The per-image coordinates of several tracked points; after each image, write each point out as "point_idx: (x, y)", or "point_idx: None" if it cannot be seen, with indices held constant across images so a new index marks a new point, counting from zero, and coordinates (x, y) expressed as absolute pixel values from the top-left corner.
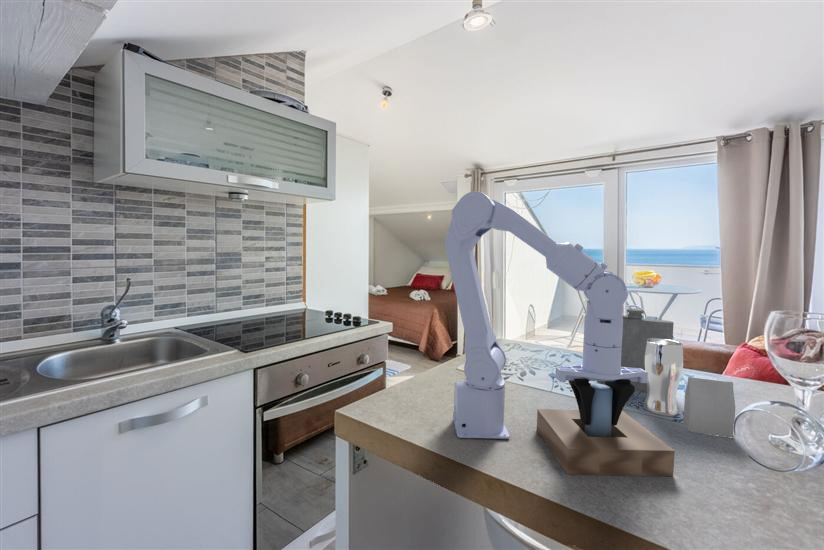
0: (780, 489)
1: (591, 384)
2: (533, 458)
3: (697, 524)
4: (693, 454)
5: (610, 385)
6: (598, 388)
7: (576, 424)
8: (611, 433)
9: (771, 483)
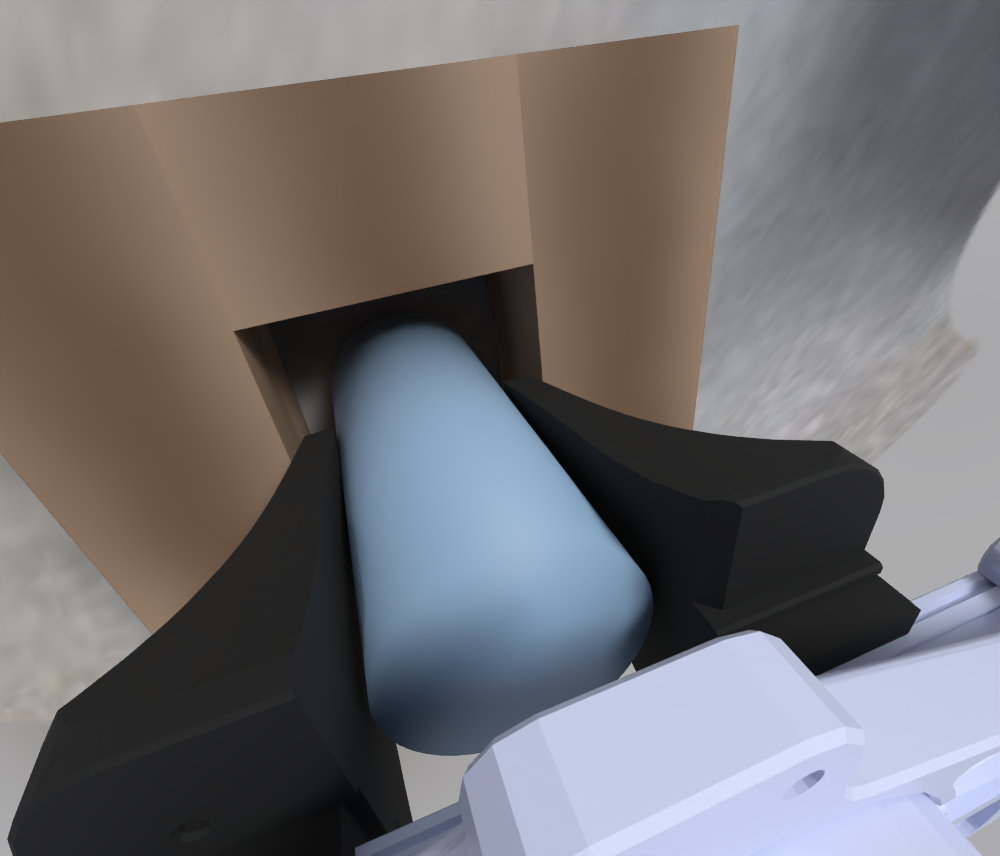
0: (862, 423)
1: (456, 616)
2: (23, 540)
3: None
4: (810, 269)
5: (670, 594)
6: (495, 702)
7: (271, 422)
8: (512, 304)
9: (871, 400)
